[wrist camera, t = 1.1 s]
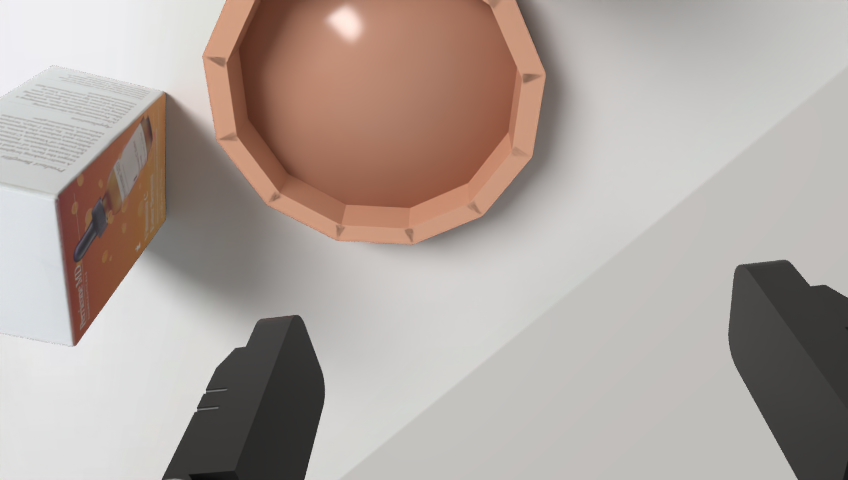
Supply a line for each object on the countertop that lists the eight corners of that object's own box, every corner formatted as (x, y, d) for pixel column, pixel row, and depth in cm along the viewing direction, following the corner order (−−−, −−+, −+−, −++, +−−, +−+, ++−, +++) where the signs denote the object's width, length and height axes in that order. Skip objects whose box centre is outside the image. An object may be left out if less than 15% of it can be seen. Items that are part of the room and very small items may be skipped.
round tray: (200, -95, 25) (178, -87, 23) (558, -75, 25) (569, -65, 23) (245, 208, 34) (232, 235, 32) (512, 222, 34) (516, 249, 32)
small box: (168, 218, 34) (76, 353, 26) (66, 197, 34) (-63, 327, 25) (169, 88, 30) (58, 198, 21) (51, 60, 29) (-113, 162, 21)
